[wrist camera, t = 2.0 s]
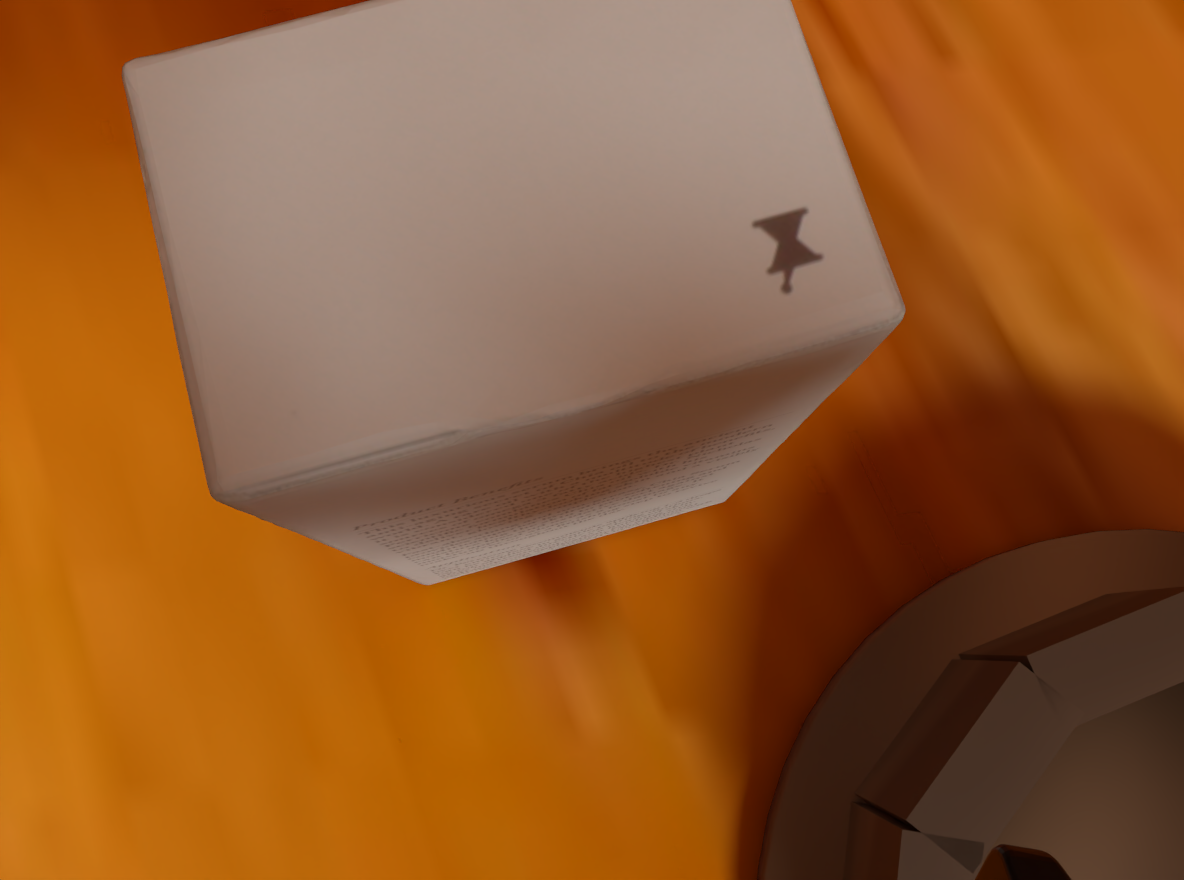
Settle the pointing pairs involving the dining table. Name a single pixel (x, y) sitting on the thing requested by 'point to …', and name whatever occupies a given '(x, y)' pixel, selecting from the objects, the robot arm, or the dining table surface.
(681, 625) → the dining table surface
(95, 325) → the dining table surface
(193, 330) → the skincare box
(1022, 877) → the robot arm
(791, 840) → the stone fire pit
